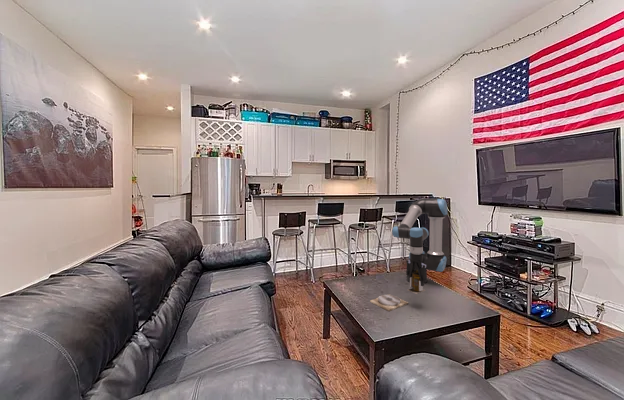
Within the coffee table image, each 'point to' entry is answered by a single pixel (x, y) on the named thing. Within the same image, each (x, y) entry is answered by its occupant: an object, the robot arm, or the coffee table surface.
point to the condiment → (415, 283)
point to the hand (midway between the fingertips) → (416, 288)
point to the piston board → (388, 302)
